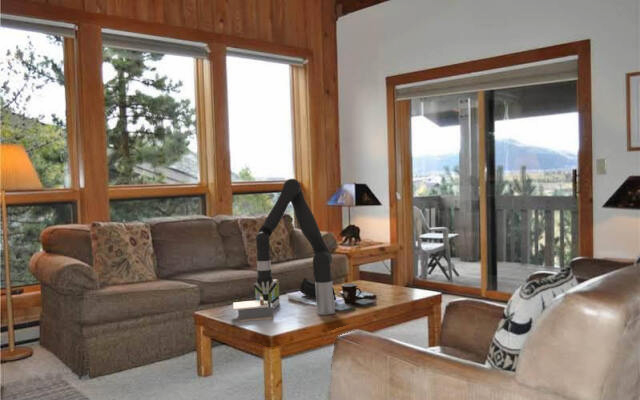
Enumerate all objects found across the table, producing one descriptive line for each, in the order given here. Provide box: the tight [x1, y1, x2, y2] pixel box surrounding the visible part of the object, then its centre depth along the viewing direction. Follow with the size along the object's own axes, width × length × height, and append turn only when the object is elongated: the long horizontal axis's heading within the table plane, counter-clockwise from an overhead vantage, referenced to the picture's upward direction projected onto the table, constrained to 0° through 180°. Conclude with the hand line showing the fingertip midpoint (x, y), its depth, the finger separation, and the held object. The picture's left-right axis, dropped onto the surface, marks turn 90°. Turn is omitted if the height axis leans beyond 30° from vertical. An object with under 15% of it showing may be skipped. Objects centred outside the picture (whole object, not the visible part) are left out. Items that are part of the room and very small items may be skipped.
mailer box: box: [237, 301, 274, 322], centre depth 299 cm, size 18×14×6 cm
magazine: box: [299, 277, 337, 302], centre depth 332 cm, size 17×3×30 cm
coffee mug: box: [341, 282, 362, 304], centre depth 319 cm, size 12×9×10 cm
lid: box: [232, 296, 269, 311], centre depth 299 cm, size 18×14×3 cm
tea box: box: [254, 278, 280, 309], centre depth 319 cm, size 15×10×15 cm
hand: (266, 300), depth 300 cm, fingers closed
